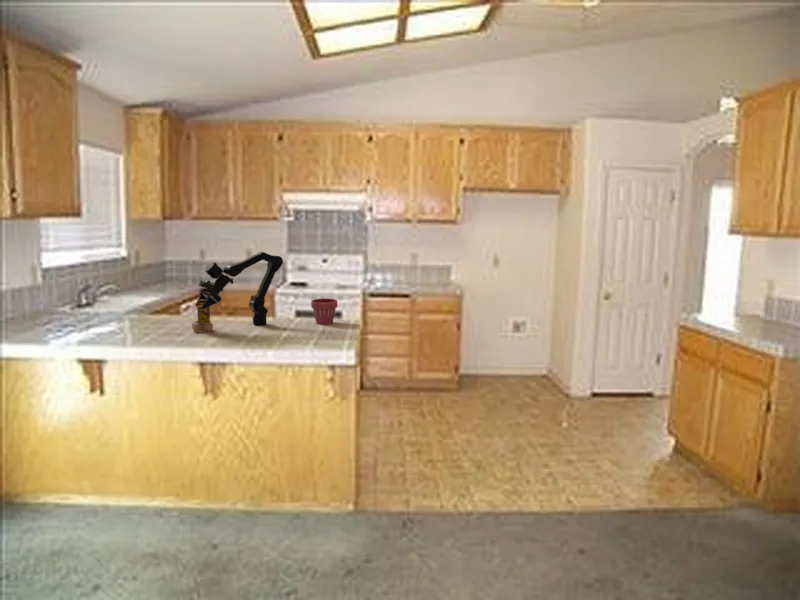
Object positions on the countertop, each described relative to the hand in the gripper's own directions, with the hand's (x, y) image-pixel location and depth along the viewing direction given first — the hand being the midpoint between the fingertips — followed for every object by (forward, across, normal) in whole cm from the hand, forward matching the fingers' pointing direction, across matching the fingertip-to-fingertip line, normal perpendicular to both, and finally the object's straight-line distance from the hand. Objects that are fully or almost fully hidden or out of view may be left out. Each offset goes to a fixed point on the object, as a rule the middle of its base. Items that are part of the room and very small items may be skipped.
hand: (198, 307), depth 332 cm
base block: (+8, 0, +10) cm, 12 cm away
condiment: (+5, 0, +7) cm, 8 cm away
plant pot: (-36, +15, +54) cm, 67 cm away
